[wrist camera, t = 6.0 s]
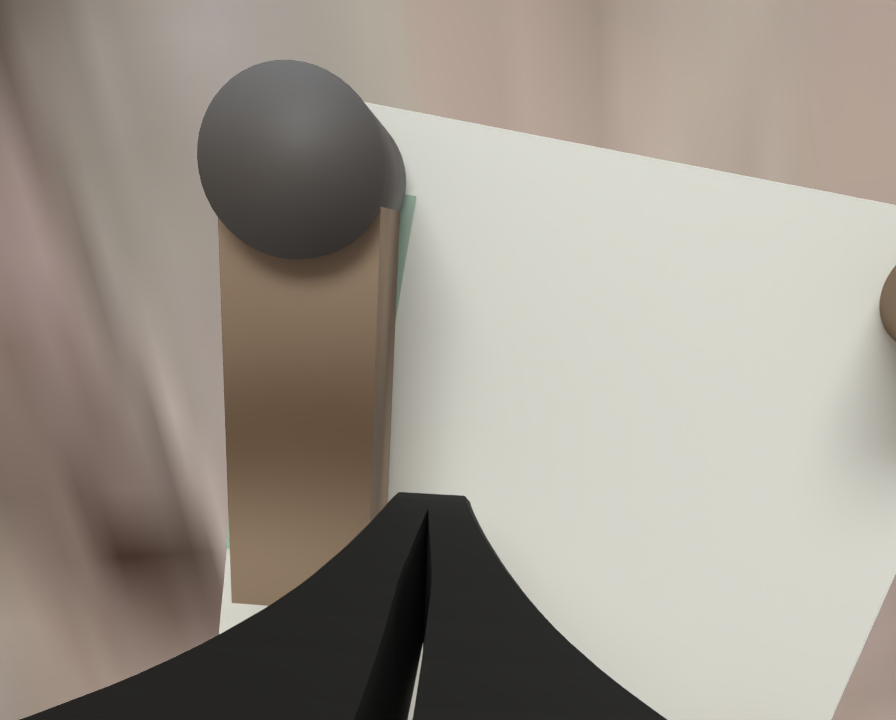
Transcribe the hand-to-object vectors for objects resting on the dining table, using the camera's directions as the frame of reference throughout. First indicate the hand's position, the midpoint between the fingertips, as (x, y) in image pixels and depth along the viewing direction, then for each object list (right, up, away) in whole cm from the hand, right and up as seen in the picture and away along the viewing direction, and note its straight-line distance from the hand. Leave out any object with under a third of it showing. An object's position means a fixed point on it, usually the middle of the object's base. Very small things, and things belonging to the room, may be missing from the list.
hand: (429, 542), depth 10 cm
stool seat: (+3, 0, +4) cm, 5 cm away
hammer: (-2, +4, +2) cm, 5 cm away
